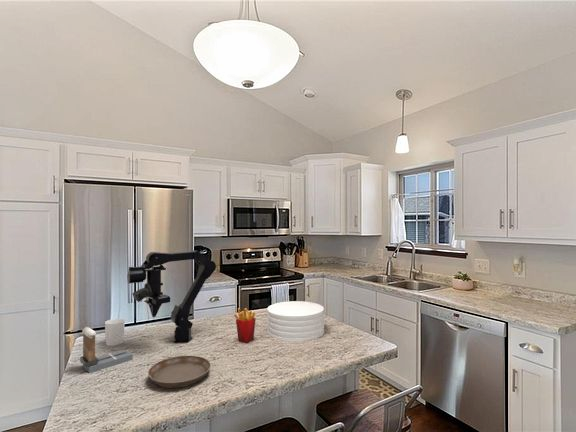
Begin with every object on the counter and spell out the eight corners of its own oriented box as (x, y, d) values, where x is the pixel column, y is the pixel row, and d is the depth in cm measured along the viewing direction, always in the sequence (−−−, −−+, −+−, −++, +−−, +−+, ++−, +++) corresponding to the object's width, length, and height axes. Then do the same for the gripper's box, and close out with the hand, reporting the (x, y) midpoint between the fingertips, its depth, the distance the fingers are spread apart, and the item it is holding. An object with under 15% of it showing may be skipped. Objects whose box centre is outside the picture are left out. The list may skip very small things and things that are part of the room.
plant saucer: (219, 366, 119) (219, 357, 119) (193, 395, 98) (193, 384, 98) (169, 361, 123) (169, 353, 123) (134, 389, 102) (134, 378, 102)
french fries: (245, 336, 149) (245, 304, 149) (259, 340, 144) (258, 307, 144) (232, 342, 141) (231, 309, 142) (246, 346, 137) (245, 311, 137)
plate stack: (333, 328, 161) (333, 305, 161) (306, 346, 137) (306, 319, 137) (287, 319, 176) (286, 299, 176) (255, 334, 152) (255, 310, 152)
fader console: (124, 354, 130) (124, 348, 130) (132, 359, 125) (132, 354, 125) (82, 366, 119) (82, 360, 119) (89, 372, 114) (89, 367, 114)
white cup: (104, 348, 137) (104, 324, 137) (105, 342, 144) (105, 320, 144) (124, 344, 141) (124, 322, 141) (124, 339, 148) (124, 317, 148)
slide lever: (92, 358, 121) (92, 325, 121) (98, 363, 116) (98, 329, 117) (80, 361, 118) (80, 328, 118) (85, 367, 113) (85, 332, 114)
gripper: (126, 281, 139) (126, 316, 138) (144, 286, 126) (144, 325, 126) (151, 277, 147) (151, 311, 146) (170, 282, 134) (170, 319, 134)
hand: (153, 316), depth 138 cm, fingers closed
